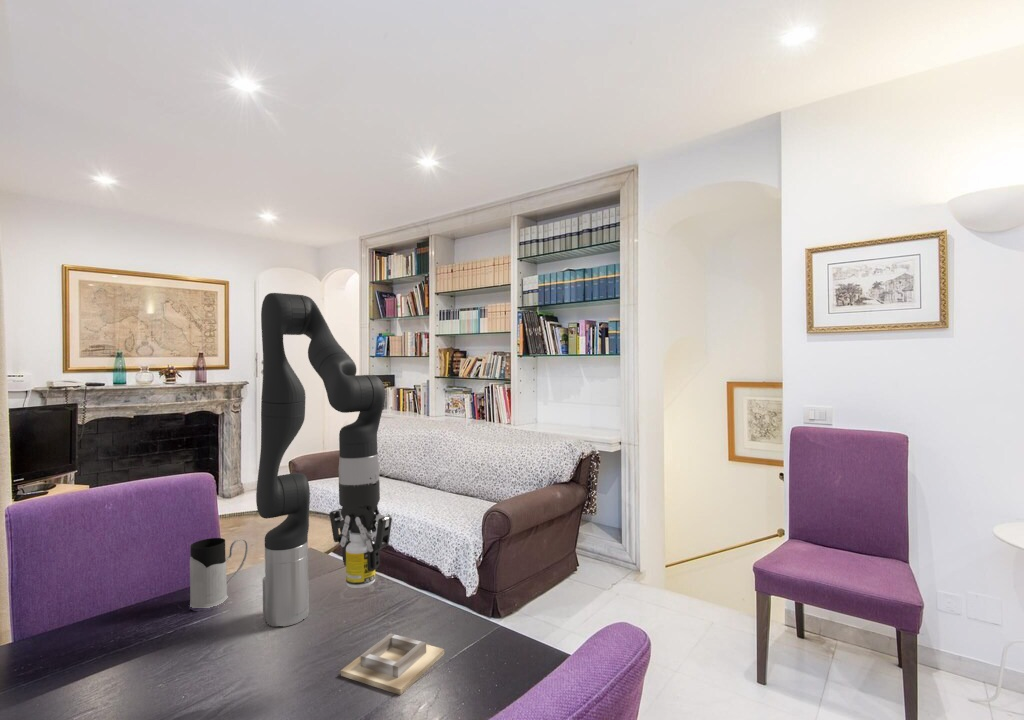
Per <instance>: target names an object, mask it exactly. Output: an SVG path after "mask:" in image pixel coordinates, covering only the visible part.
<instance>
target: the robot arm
mask: <svg viewBox="0 0 1024 720" xmlns="http://www.w3.org/2000/svg"><path fill="white" fill-rule="evenodd" d="M260 323H261V326H260V327H261V342H262V343H261V345H262V346H261V347H262V384H261V385H262V386H261V398H260V399H261V402H260V403H261V404H260V405H261V407H260V455H259V462H258V463H259V464H258V473H257V474H258V475H257V481H256V490H255V491H256V492H255V494H256V495H255V497H256V498H255V499H256V500H255V502H256V509H257V512H258V514H259V516H260V517H261V518H263V519H274V518H278V517H279V518H280V517H283V516H286V518H285V519H284V520H283V521H282V522H281V523H279V524H278V525H276V526H275V527H274V528H271V529H270V530H269V531H267V532H266V534H265V536H264V575H265V576H264V577H263V578H262V619H263V620H265V619H266V620H265V623H266V622H267V623H266V625H268V624H269V625H268V626H270V625H271V626H270V627H274V626H283V627H288V626H289V627H290V626H292V625H296V624H298V623H300V622H302V621H304V620H305V619H306V618H307V617H308V616H309V614H310V612H309V611H310V609H309V608H310V605H309V604H310V601H309V600H310V599H309V594H310V593H309V592H310V591H309V589H310V588H309V550H308V548H309V547H308V538H309V537H308V536H309V529H310V501H311V492H310V489H311V488H310V485H309V484H310V483H309V480H308V477H307V476H306V475H305V474H304V473H302V472H294V473H286V474H281V475H280V474H279V470H280V467H281V462H282V460H283V457H284V455H285V453H286V451H287V449H289V447H290V445H291V444H292V442H293V441H294V439H295V438H296V436H297V435H298V433H299V432H300V430H301V428H302V426H303V424H304V422H305V420H306V419H305V418H306V398H307V397H306V390H305V388H304V385H303V383H302V382H301V380H300V378H299V377H298V375H297V374H296V372H295V370H294V369H293V368H292V365H291V364H290V362H289V361H288V358H287V355H286V352H285V347H284V344H285V343H284V335H285V336H286V335H287V336H302V335H304V336H306V337H308V338H309V339H310V342H309V345H308V348H307V357H308V361H309V363H310V365H311V366H312V369H313V370H314V371H315V372H316V374H317V375H318V376H319V378H321V380H322V382H323V385H324V388H325V391H326V396H327V400H328V403H329V405H330V406H331V408H332V409H334V410H335V411H337V412H339V413H344V414H346V413H358V412H359V414H358V416H357V419H356V420H355V421H354V422H352V423H350V424H346V425H345V426H343V427H341V428H340V429H339V434H338V442H339V443H338V445H339V461H338V463H339V464H338V501H339V502H338V504H339V505H340V507H341V508H338V509H335V510H332V511H330V512H329V519H330V526H331V531H332V532H331V533H332V537H333V538H332V539H333V542H334V543H339V544H340V546H341V547H342V548H341V549H342V561H343V566H345V567H346V546H347V545H348V544H349V543H350V542H351V541H350V532H353V533H354V532H358V533H359V534H361V536H362V539H363V540H364V541H365V542H366V545H367V548H368V552H367V560H368V571H374V570H375V571H376V570H377V569H378V568H379V567H380V565H381V556H380V553H381V552H380V550H381V549H383V548H385V547H388V546H389V544H390V537H391V536H390V535H391V528H392V522H393V518H392V516H391V515H390V514H387V515H386V516H385V515H383V514H381V513H380V511H379V508H378V506H379V503H380V499H381V494H380V493H381V492H380V491H381V487H380V486H381V485H380V463H379V456H378V455H379V454H378V431H379V427H380V423H381V418H382V414H383V410H384V406H385V401H386V388H385V385H384V382H383V381H382V380H381V379H380V378H379V376H376V375H373V374H358V375H356V374H357V364H355V361H354V360H353V359H352V357H351V356H350V355H349V354H348V353H347V352H346V350H345V349H344V348H343V347H342V346H341V345H340V343H339V341H337V340H336V338H335V337H334V335H333V333H332V331H331V329H330V327H329V325H328V323H327V321H326V320H325V318H324V315H323V314H322V312H321V310H320V308H319V307H318V305H317V303H316V302H315V300H313V299H312V298H311V297H309V296H307V295H304V294H303V295H302V294H297V293H294V294H293V293H282V292H270V293H268V294H266V295H265V296H264V298H263V301H262V304H261V310H260ZM369 531H371V534H368V532H369ZM372 541H373V542H374V544H373V542H372ZM303 619H304V620H303Z"/></svg>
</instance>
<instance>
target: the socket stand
mask: <svg viewBox="0 0 1024 720" xmlns="http://www.w3.org/2000/svg"><path fill="white" fill-rule="evenodd" d="M444 655H445V649H444V648H442V647H438V646H434V645H430V644H428V643H427V642H425V641H421V640H417V639H413V638H410V637H406V636H403V635H397V634H395V633H388V634H387V635H386V636H384V638H382V639H380V640H379V641H378V642H377V643H375V644H374V645H373V646H371V647H370V648H369V649H368V650H366V651H365V652H363V653H362V654H361V655H359V656H358V657H356V658H355V659H354V660H353V661H351V662H350V663H349V664H347V665H346V666H345V667H344V668H342V669H341V670H340V676H341V677H344V678H347V679H350V680H353V681H357V682H358V683H362V684H366V685H368V686H371V687H373V688H374V687H375V688H378V689H382V690H384V691H387V692H390V693H393V694H396V695H399V696H402V695H403V693H405V692H406V691H408V689H409V688H410V687H411V686H412V685H413V684H414V683H415V682H417V680H419V678H421V677H422V675H424V674H425V673H426V672H427V671H428V670H429V669H430V668H431V667H432V666H433V665H434V664H435V663H436V662H438V661H439V660H440V659H441V658H442V657H443V656H444Z"/></svg>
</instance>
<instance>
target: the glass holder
mask: <svg viewBox="0 0 1024 720" xmlns="http://www.w3.org/2000/svg"><path fill="white" fill-rule="evenodd" d="M238 541H243V542H244V544H245V552H244V556H243V559H242V561H241V564H240V565H239V567H238V568H237V569H236V571H235V572H234V573H233V574H232V576H231V577H230V578H229V579H228V578H227V561H228V560H230V559H231V558H232V556H233V548H234V546H235V545H236V543H237V542H238ZM189 550H190V557H189V587H190V588H189V592H190V593H189V595H190V597H189V600H190V601H189V604H190V607H192V608H210V607H213V606H217V605H219V604H221V603H223V602H224V601H225V600H226V599H227V598H228V597H229V596H228V586H229V584H230V583H231V582H232V581H233V579H234V578H235V577H236V576H237V575H238V573H239V572H240V570H242V569H243V567H244V564H245V562H246V560H247V557H248V551H249V544H248V541H247V540H246V539H244V538H237V539H235V540H234V541H233V542H232V543H231V545H230V547H229V555H228V557H226V539H225V538H222V537H213V538H212V537H211V538H206V539H200V540H197V541H196V542H193V543H191V544H190V549H189ZM227 579H228V581H227Z"/></svg>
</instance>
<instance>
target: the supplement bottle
mask: <svg viewBox="0 0 1024 720" xmlns="http://www.w3.org/2000/svg"><path fill="white" fill-rule="evenodd" d="M371 533H372V530H371V531H369V532H368V534H371ZM350 541H351V542H350V543H349V544H348V545H347V546H346V566H345V582H346V586H348V587H349V588H351V589H359V588H360V589H361V588H366V587H369V586H371V585H373V584H374V582H375V581H376V570H374V571H368V560H367V552H368V548H367V545H366V542H365V541H364V540H363V539H362V536H361V534H359V533H358V532H354V533H353V532H350ZM372 542H373V544H374V541H373V540H372Z"/></svg>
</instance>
